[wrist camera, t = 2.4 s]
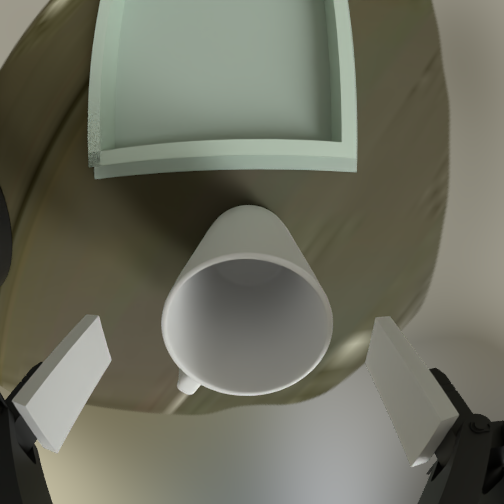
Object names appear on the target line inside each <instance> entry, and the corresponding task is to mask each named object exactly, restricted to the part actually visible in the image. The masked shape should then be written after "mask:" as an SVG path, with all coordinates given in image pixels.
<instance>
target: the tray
mask: <svg viewBox="0 0 504 504" xmlns="http://www.w3.org/2000/svg"><path fill="white" fill-rule="evenodd" d="M88 161H89V167H94V177H95V179H101V178H110V177H119V176H129V175H140V174H152V173H166V172H182V171H202V170H233V169H293V170H325V171H345V172H357V100H356V78H355V63H354V50H353V39H352V30H351V21H350V13H349V6H348V0H100V5H99V10H98V16H97V21H96V28H95V34H94V41H93V49H92V58H91V68H90V81H89V98H88Z"/></svg>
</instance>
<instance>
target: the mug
mask: <svg viewBox="0 0 504 504" xmlns="http://www.w3.org/2000/svg"><path fill="white" fill-rule="evenodd" d="M161 328H162V335H163V339H164V343H165V346H166V348H167V350H168V352H169V354H170V356H171V357H172V359H173V360H174V362H175V363H176V364H177V366H178V367H179V381H178V383H177V388H178V389H179V390H180V391H182V392H183V393H185V394H188V395H191V394H193V393H194V392H195V391H196V390H197V389H198V388H199V386H200V385H203V386H205V387H207V388H209V389H212V390H215V391H218V392H222V393H226V394H231V395H241V396H253V395H262V394H268V393H272V392H276V391H279V390H281V389H284V388H286V387H289V386H291V385H293V384H294V383H296V382H298V381H299V380H301V379H302V378H304V377H305V376H306V375H308V374H309V373H310V372H311V371H312V370H313V369H314V368H315V367H316V366H317V364H318V363H319V362H320V361H321V359H322V358H323V356H324V354H325V353H326V351H327V348H328V346H329V343H330V340H331V336H332V330H333V316H332V310H331V306H330V303H329V300H328V298H327V296H326V294H325V292H324V290H323V289H322V287H321V286H320V284H319V282H318V280H317V278H316V276H315V275H314V273H313V271H312V269H311V268H310V266H309V264H308V263H307V261H306V259H305V258H304V256H303V254H302V253H301V251H300V249H299V248H298V246H297V244H296V243H295V241H294V239H293V238H292V236H291V234H290V232H289V231H288V229H287V228H286V226H285V225H284V224H283V222H282V221H281V220H280V219H279V218H278V217H277V216H276V215H275V214H274V213H272V212H271V211H269V210H267V209H265V208H263V207H260V206H255V205H242V206H237V207H234V208H231V209H229V210H227V211H226V212H224V213H223V214H222V215H220V216H219V217H218V218H217V219H216V220H215V222H214V223H213V224H212V226H211V227H210V228H209V230H208V231H207V233H206V234H205V236H204V238H203V239H202V241H201V242H200V244H199V245H198V247H197V248H196V250H195V251H194V253H193V255H192V256H191V258H190V259H189V261H188V262H187V264H186V265H185V267H184V268H183V270H182V272H181V273H180V275H179V277H178V278H177V280H176V282H175V284H174V286H173V288H172V289H171V291H170V293H169V295H168V297H167V299H166V301H165V304H164V308H163V312H162V319H161Z"/></svg>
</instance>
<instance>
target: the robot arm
mask: <svg viewBox="0 0 504 504" xmlns="http://www.w3.org/2000/svg"><path fill="white" fill-rule="evenodd" d="M11 256H12V237H11V227H10V221H9V215H8V211H7V207H6V203H5V200H4V196H3V194H2V191H1V189H0V286H1V285H2V284H3V282H4V281H5V279H6V277H7V275H8V272H9V269H10V264H11ZM110 362H111V357H110V354H109V350H108V347H107V344H106V340H105V337H104V333H103V329H102V326H101V322H100V318H99V316H98V315H88V314H86V315H85V316H84V318H83V319H82V320H81V321H80V322H79V323H78V324H77V325H76V326H75V327H74V328H73V329H72V330H71V332H70V333H69V334H68V335H67V336H66V337H65V338H64V339H63V340H62V341H61V343H60V344H59V345H58V346H57V347H56V348H55V349H54V350H53V352H52V353H51V354H50V355H49V356H48V357H47V358H46V360H45V361H44V362H40V363H39V364H37V365H36V366H34V367H32V369H31V370H30V371H29V372H28V373H27V374H26V375H27V376H25V377H24V378H23V379H22V382H20V383H19V384H18V385H17V386H16V388H15V389H14V390H13V391H12V392H11V394H10V395H9V396H8V398H7V399H6V400H4V398H3V396H2V395H1V393H0V504H53V503H52V500H51V497H50V494H49V491H48V488H47V485H46V481H45V478H44V474H43V470H42V467H41V463H40V458H39V454H38V450H37V448H36V446H35V444H34V443H35V442H36V440H38V441H39V442H40V444H41V445H42V446H43V447H44V448H45V449H48V450H50V451H53V452H55V453H58V451H59V450H60V447H61V445H62V444H63V442H64V440H65V438H66V437H67V435H68V433H69V431H70V429H71V428H72V426H73V424H74V422H75V420H76V419H77V417H78V415H79V413H80V412H81V410H82V408H83V407H84V405H85V403H86V402H87V400H88V398H89V396H90V395H91V393H92V391H93V390H94V388H95V386H96V385H97V383H98V382H99V380H100V378H101V377H102V375H103V373H104V372H105V370H106V368H107V367H108V365H109V364H110ZM365 365H366V367H367V369H368V371H369V373H370V375H371V377H372V379H373V381H374V384H375V386H376V388H377V390H378V392H379V394H380V396H381V399H382V401H383V403H384V405H385V408H386V410H387V412H388V414H389V416H390V419H391V421H392V423H393V425H394V428H395V430H396V432H397V434H398V437H399V439H400V442H401V444H402V446H403V449H404V451H405V454H406V456H407V458H408V461H409V463H410V466H411V467H413V466H416V465H419V464H422V463H425V462H428V461H429V460H430V458H431V457H432V455H433V454H434V453H435V455H436V457H437V461H436V462H435V463H434V464H433V466H432V467H431V468H430V469H429V471H428V472H427V474H428V475H429V474H430V473H431V474H430V477H429V479H428V481H427V484H426V486H425V488H424V491H423V493H422V495H421V498H420V500H419V502H418V504H504V421H496V422H491V421H490V420H489V419H488V418H487V417H486V416H483V415H481V414H473V413H472V412H471V410H470V409H469V407H468V406H467V405H466V403H465V402H464V400H463V399H462V397H461V396H460V394H459V393H458V391H456V390H455V387H454V386H453V385H452V384H451V382H450V381H449V379H448V378H447V376H446V375H445V374H444V373H442V372H441V371H440V370H438V369H437V368H433V369H428V367H427V366H426V365H425V363H424V362H423V361H422V359H421V358H420V356H419V355H418V354H417V352H416V351H415V349H414V348H413V347H412V345H411V344H410V343H409V341H408V340H407V338H406V337H405V336H404V335H403V333H402V332H401V330H400V329H399V328H398V326H397V325H396V324H395V322H394V321H393V320H392V319H391V317H390V316H387V317H376V318H375V322H374V327H373V332H372V337H371V341H370V345H369V350H368V354H367V358H366V362H365ZM431 471H432V472H431Z"/></svg>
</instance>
